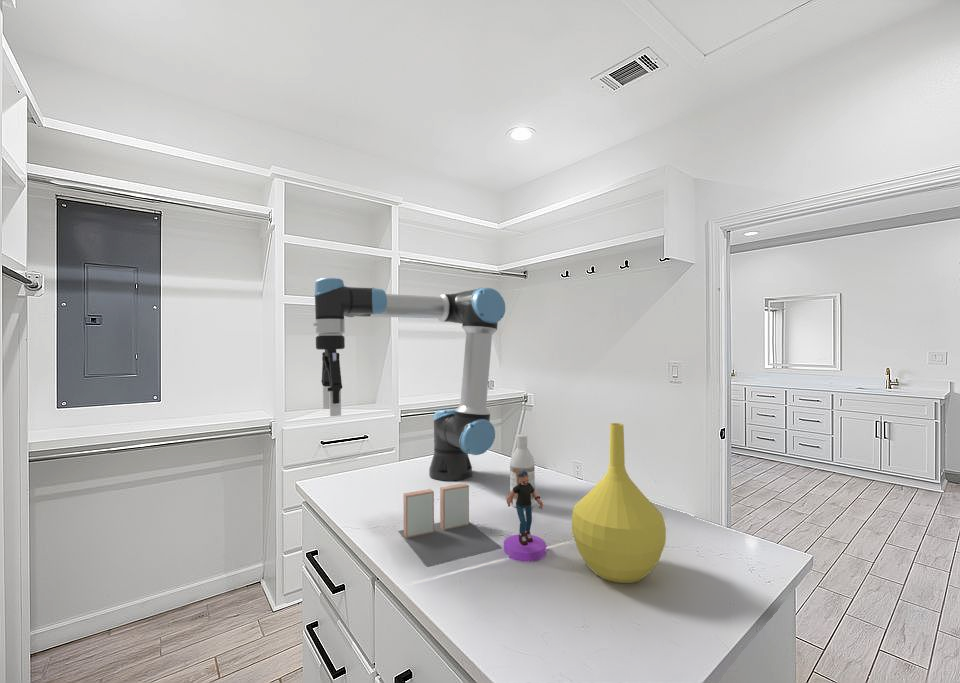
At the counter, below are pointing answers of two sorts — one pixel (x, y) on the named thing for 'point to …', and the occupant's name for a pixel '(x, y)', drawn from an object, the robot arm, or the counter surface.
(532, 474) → the bath foam
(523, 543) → the figurine
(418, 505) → the tile
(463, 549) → the mat
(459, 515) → the tile
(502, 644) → the counter surface
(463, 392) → the robot arm
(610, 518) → the vase
